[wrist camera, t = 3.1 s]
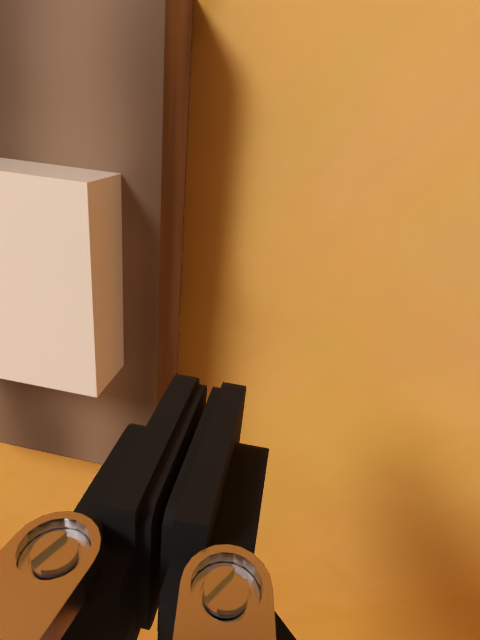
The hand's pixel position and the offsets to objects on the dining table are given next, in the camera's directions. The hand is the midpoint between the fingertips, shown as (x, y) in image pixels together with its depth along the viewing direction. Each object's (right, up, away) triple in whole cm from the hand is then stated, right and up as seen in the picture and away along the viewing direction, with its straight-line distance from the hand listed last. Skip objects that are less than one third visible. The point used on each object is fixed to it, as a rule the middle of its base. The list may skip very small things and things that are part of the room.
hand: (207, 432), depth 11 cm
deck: (-8, +6, +10) cm, 14 cm away
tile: (-8, +5, +8) cm, 12 cm away
